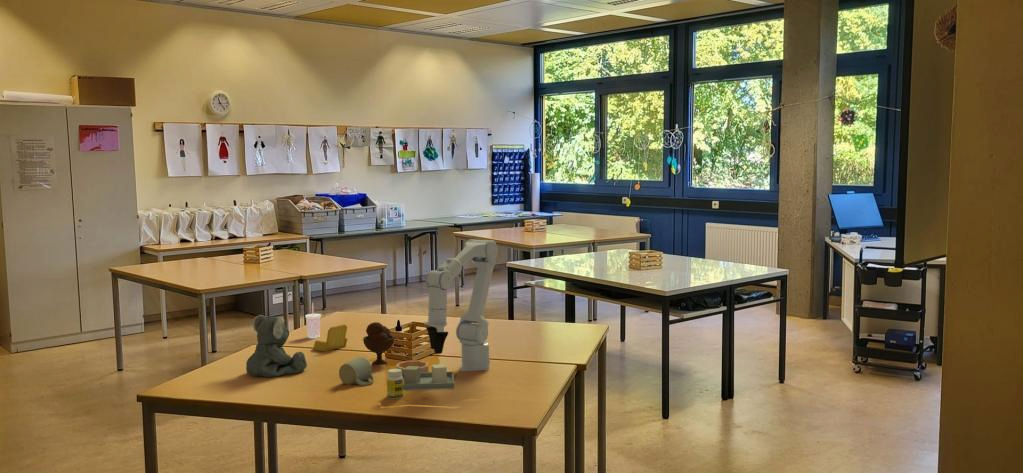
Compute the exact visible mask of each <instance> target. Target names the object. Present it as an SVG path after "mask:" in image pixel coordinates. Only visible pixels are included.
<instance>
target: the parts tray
mask: <svg viewBox="0 0 1023 473" xmlns="http://www.w3.org/2000/svg"><path fill="white" fill-rule="evenodd" d="M454 372H455V371H447V383H433V381H432V371H429V372H420V383H418V384H404V373H402V375H401V376H402V377H403V392H406V391H438V390H455V375H454V374H455V373H454Z"/></svg>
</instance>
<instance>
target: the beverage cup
mask: <svg viewBox="0 0 1023 473" xmlns="http://www.w3.org/2000/svg"><path fill="white" fill-rule="evenodd" d="M311 305H312V306H311V308H312V309H311V311H312V312H311V313H308V314H305V320H306V322H305V324H306V330H307V331H306V332H307V338H308V339H318V337H319V338H320V336H321V316H322V314H321V313H315V312H314V302H312V303H311Z"/></svg>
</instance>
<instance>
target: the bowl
mask: <svg viewBox="0 0 1023 473" xmlns="http://www.w3.org/2000/svg"><path fill="white" fill-rule="evenodd" d="M429 365H430V364H429V362H427V361H425V360H424V361H423V360H405V361H400V362H398V363H396V365H395V369H401V370H402V373H404V369H405V368H406V367H407V366H420V372H430V367H429Z"/></svg>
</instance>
